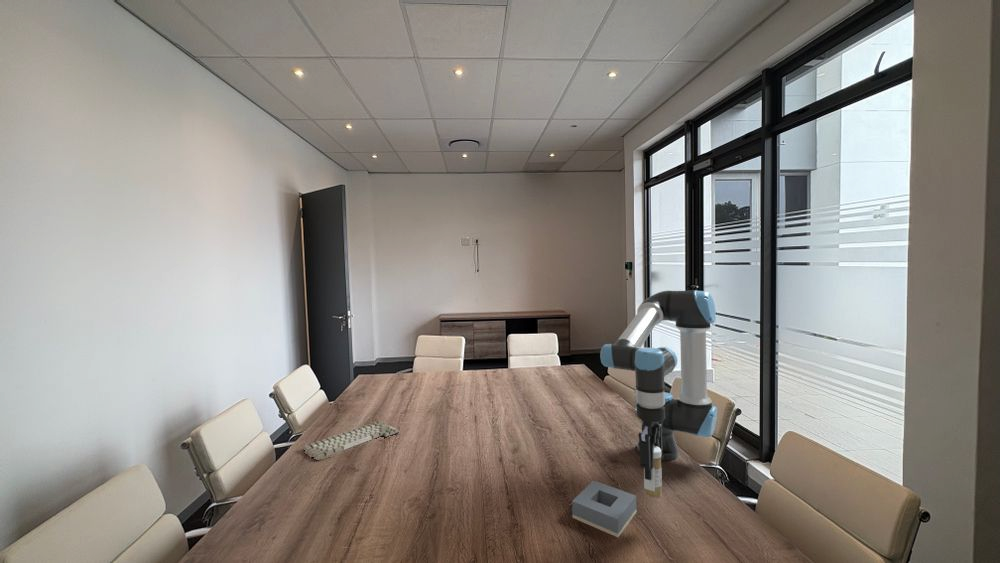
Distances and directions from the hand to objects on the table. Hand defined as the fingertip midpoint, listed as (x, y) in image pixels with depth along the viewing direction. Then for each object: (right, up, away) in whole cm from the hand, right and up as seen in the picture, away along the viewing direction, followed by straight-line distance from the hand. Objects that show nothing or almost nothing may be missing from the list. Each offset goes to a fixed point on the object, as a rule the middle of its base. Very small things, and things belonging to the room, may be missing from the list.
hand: (652, 484), depth 108 cm
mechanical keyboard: (-109, -14, +61) cm, 125 cm away
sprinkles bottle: (0, -3, 0) cm, 3 cm away
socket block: (-12, -12, +6) cm, 18 cm away
